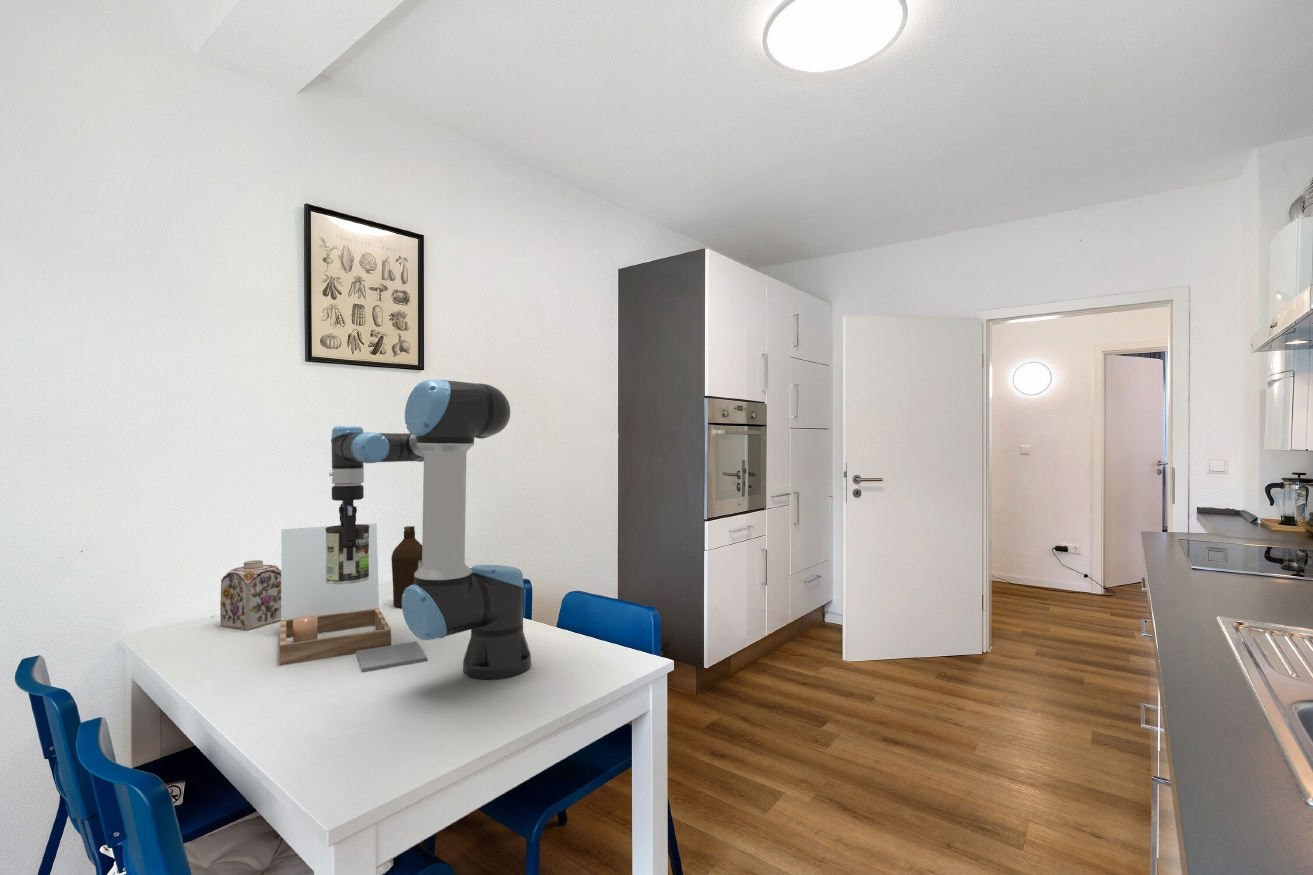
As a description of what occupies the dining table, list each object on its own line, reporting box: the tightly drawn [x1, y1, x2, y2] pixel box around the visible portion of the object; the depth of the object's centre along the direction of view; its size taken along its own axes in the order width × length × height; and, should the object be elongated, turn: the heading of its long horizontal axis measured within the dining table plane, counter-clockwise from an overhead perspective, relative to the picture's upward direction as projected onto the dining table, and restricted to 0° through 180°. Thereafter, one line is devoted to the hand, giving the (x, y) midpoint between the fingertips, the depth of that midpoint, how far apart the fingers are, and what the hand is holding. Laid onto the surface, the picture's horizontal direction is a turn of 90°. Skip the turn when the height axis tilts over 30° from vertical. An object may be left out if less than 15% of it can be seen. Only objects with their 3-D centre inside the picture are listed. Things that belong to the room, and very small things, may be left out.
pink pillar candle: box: [292, 616, 319, 643], centre depth 160 cm, size 6×6×6 cm
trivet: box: [355, 640, 428, 673], centre depth 148 cm, size 14×14×1 cm
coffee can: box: [326, 523, 369, 584], centre depth 161 cm, size 10×10×14 cm
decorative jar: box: [219, 559, 281, 631], centre depth 177 cm, size 12×12×18 cm
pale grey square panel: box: [280, 523, 380, 620], centre depth 173 cm, size 24×24×1 cm
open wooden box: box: [279, 607, 392, 666], centre depth 159 cm, size 24×24×4 cm
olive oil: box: [390, 525, 422, 609], centre depth 197 cm, size 11×11×25 cm
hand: (347, 569), depth 161 cm, fingers closed on coffee can, 10 cm apart
